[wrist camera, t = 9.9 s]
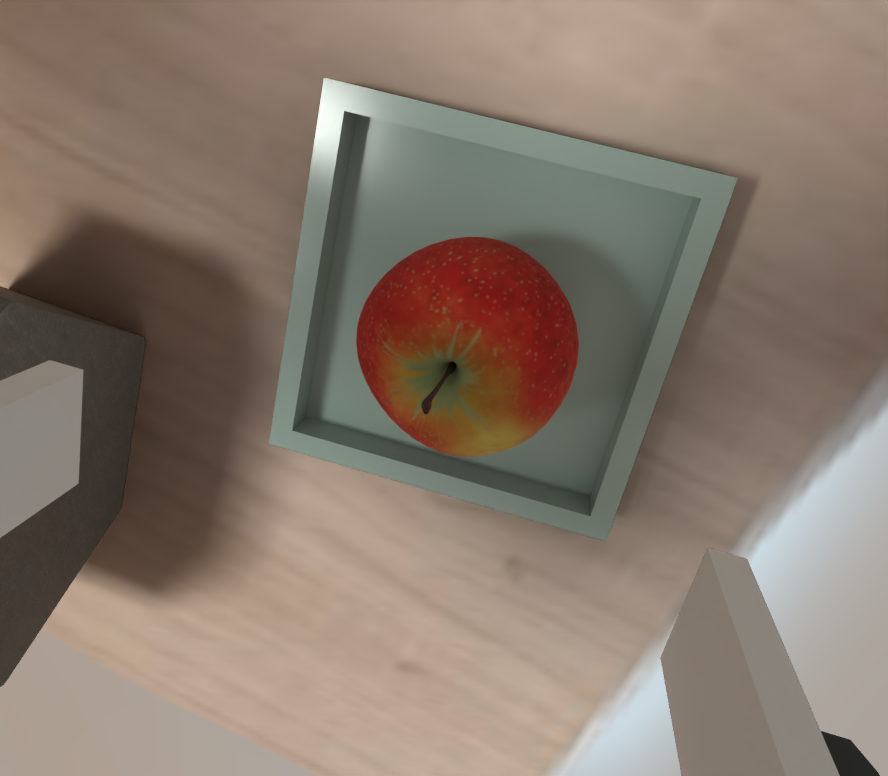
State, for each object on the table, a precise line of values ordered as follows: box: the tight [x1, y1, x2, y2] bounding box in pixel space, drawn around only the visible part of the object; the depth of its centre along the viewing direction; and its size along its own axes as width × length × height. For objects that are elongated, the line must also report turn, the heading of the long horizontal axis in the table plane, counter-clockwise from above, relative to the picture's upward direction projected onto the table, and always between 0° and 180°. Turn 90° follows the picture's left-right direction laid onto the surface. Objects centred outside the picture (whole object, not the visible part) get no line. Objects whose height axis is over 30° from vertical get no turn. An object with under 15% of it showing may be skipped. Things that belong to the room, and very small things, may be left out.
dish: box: [269, 78, 738, 542], centre depth 30 cm, size 16×16×2 cm
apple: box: [356, 237, 579, 457], centre depth 26 cm, size 8×8×10 cm
